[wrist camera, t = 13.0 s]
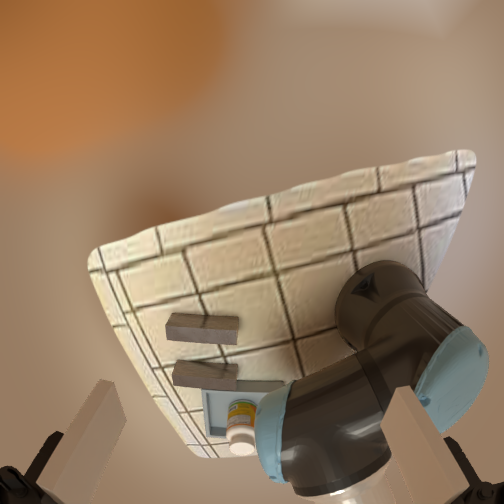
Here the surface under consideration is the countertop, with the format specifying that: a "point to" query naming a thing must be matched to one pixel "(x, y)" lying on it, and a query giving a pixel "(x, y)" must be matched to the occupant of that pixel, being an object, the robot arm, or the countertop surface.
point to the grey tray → (221, 400)
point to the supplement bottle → (241, 427)
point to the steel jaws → (203, 332)
